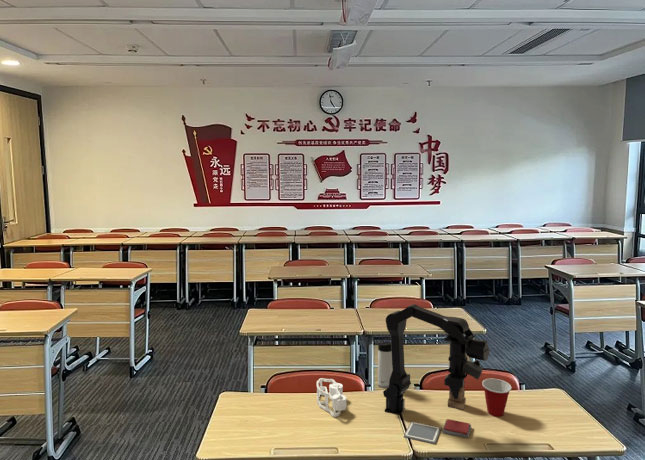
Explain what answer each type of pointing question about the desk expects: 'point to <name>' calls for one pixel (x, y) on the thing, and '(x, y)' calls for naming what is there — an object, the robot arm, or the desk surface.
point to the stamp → (457, 400)
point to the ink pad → (457, 428)
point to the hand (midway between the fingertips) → (456, 396)
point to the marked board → (422, 432)
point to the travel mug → (384, 364)
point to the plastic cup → (496, 395)
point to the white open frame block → (331, 396)
